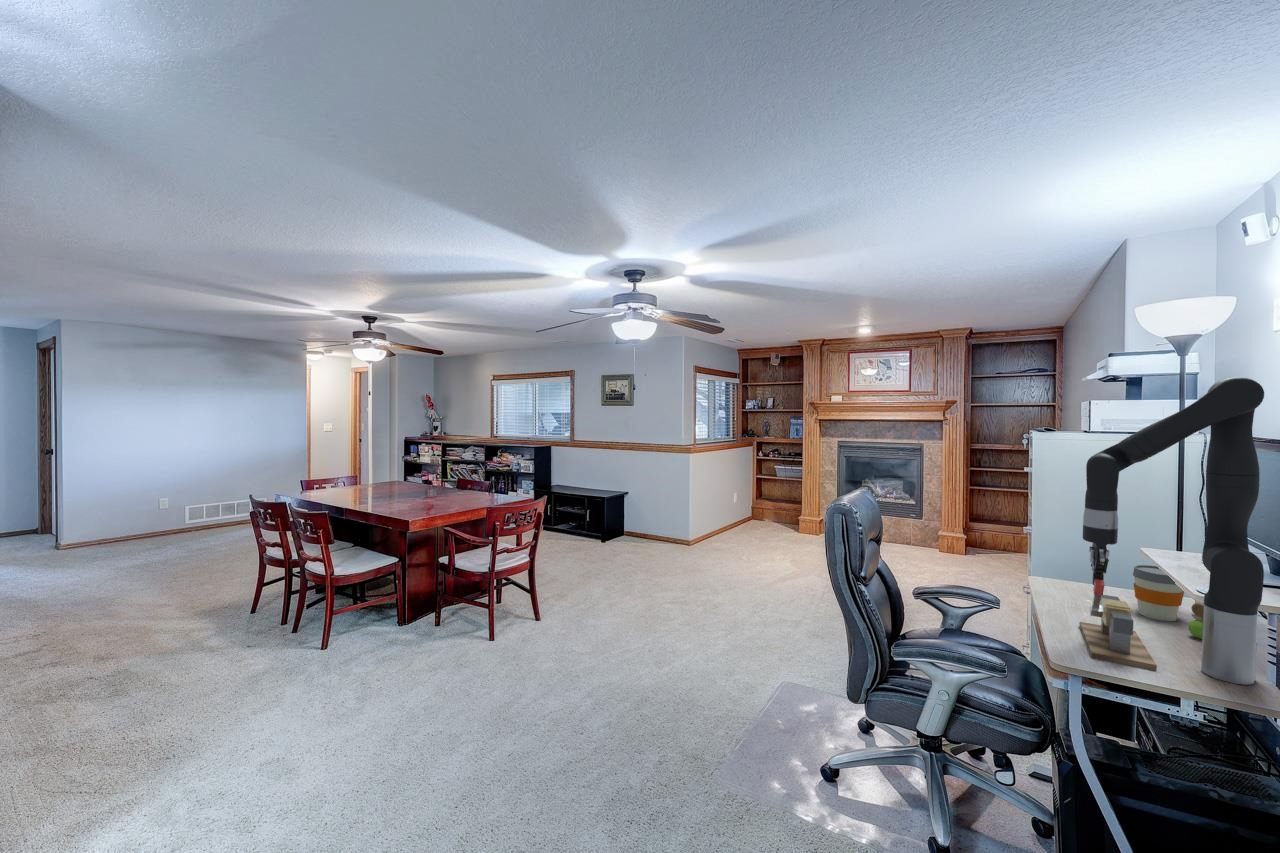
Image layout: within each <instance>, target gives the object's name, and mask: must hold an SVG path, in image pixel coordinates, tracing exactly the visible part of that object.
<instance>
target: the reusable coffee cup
mask: <svg viewBox="0 0 1280 853" xmlns="http://www.w3.org/2000/svg"><path fill="white" fill-rule="evenodd" d="M1158 567H1159V566H1158ZM1158 567H1157V565H1148V564H1146V565H1145V564H1139V565H1135V566H1133V573H1132V576H1133V578H1134V582H1133V590H1134V597H1135V598H1136V600H1137V606H1138V607H1137V609H1138V613H1139V614H1140V615H1141V616H1143V617H1146V618H1148V619H1153V620H1158V621H1164V622H1165V621H1166V622H1175V621H1176V620H1177V617H1178V613H1179V608H1180V606H1182V603H1183V598H1184V594H1185V591H1184V589H1183V590H1182V589H1181V588H1179V587H1178V586H1177V585H1176V584H1175V582H1174V581H1173V580H1172V579H1171V578H1170V577H1169V576H1168V575H1167V574H1165V573H1164V572H1163V571H1162V570H1161V569H1159V568H1158Z"/></svg>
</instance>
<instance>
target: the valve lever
mask: <svg viewBox="0 0 1280 853" xmlns="http://www.w3.org/2000/svg"><path fill="white" fill-rule="evenodd" d="M1104 590H1105V580H1098V579H1095V581H1094V585H1093V589H1092V591H1093V596H1092V601H1091V602H1092V603H1090V605H1089V614H1090V616H1091V617H1096V618H1097V617H1099V618H1101V617H1103V606H1102V605H1100V600H1101V595H1102V596H1103V595H1104Z"/></svg>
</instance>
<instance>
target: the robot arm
mask: <svg viewBox="0 0 1280 853" xmlns="http://www.w3.org/2000/svg"><path fill="white" fill-rule="evenodd" d="M1264 398H1265V390H1264V388H1263V386H1262V385H1261V383H1259V382H1257V380H1254V379H1251V378H1249V377H1244V376H1233V377H1232V376H1231V377H1228V378H1223V379H1221V380H1218V381H1217V382H1215V383H1213V385H1211V386H1210V387H1209V389H1208V390H1207V393H1206V394H1204V395H1202V397H1200V398H1199V399H1198V400H1196V401H1195V402H1193V403H1191V404H1190V405H1188V406H1186V407H1185V408H1183V409H1180V410H1179V411H1178V412H1175V413H1174V414H1172V415H1169V416H1167V417H1165V418H1162V419H1160V420H1158V421H1156V422H1154V423H1151V424H1150V425H1148V426H1146V427H1144V428H1141V429H1140V430H1137V431H1136V432H1134V433H1133V434H1131V435H1129V436H1127V437H1125V438H1123V439H1122V440H1121V441H1119V442H1117V443H1116V444H1114V445H1111V446H1109V447H1108V448H1105V449H1103V450H1101V451H1099V452H1097V453H1094V454H1093V455H1092V456H1090V457H1089V458H1088V459H1087V462H1086V467H1085V471H1086V473H1085V474H1086V475H1085V476H1086V491H1085V496H1084V498H1085V499H1084V511H1083V517H1082V518H1083V520H1082V540H1083V541H1085V542H1088V543H1091V544H1092V545H1089V547H1088V548H1089V550H1088V552H1089V553H1090V555H1089V562H1090V567H1091V571H1092V585H1093V586H1094V581H1095V579H1098V580H1104V578H1105V576H1104V575H1106V573H1107V569H1108V565H1109V561H1110V560H1109V557H1110V550H1109V548H1108V547H1107V546H1108V545H1111V546H1112V545H1116V544H1117V543H1118V532H1119V516H1118V515H1119V514H1118V505H1119V495H1118V486H1119V478H1120V472H1121V471H1123V470H1125V469H1127V468H1128V467H1130V466H1132V465H1134V464H1136V463H1141V462H1143V461H1146V460H1148V459H1150V458H1151V457H1154V456H1156V455H1157V454H1160V453H1161V452H1163V451H1165V450H1167V449H1168V448H1171V447H1172V446H1173V445H1175V444H1177V443H1179V442H1181V441H1183V440H1184V439H1186V438H1188V437H1190V436H1192V435H1193V434H1196V433H1198V432H1199V431H1202V430H1204V429H1206V428H1208V427H1209V428H1210V436H1209V443H1208V448H1207V455H1206V466H1205V467H1206V469H1205V502H1206V504H1205V505H1206V506H1205V508H1206V518H1207V519H1206V531H1205V538H1204V544H1203V548H1202V555H1201V560H1202V563H1203V565H1204V567H1205V569H1206V570H1207V571H1208V572H1209V583H1208V584H1209V585H1208V590H1207V592H1205V594H1204V596H1203V604H1204V615H1203V616H1204V617H1203V639H1201V640H1202V641H1201V642H1202V644H1201V658H1200V659H1201V660H1200V661H1201V664H1200V669H1201V670H1200V671H1201V672H1202V673H1204V674H1205V675H1207V676H1210V677H1212V678H1214V679H1217V680H1221V681H1223V682H1227V683H1232V684H1237V685H1245V686H1246V685H1253V684H1255V680H1256V679H1257V678H1256V677H1257V676H1256V674H1257V657H1258V656H1257V653H1258V642H1257V632H1258V631H1257V630H1258V610H1259V607H1260V605H1261V603H1262V600H1263V592H1264V582H1265V580H1264V578H1265V571H1264V564H1263V563H1262V562H1263V561H1262V560H1261V559H1260V558H1259V557H1258V556H1257V555H1256V554H1254V553H1253V552H1251V551H1250V548H1249V547H1250V546H1249V539H1248V526H1249V521H1250V518H1251V516H1252V513H1253V512H1254V510H1255V507H1256V504H1257V501H1258V499H1259V495H1260V465H1259V459H1258V452H1257V449H1256V446H1255V442H1254V437H1253V423H1254V418H1255V417H1254V416H1255V410H1256V409H1257V408H1258V407H1259V406H1260V405H1261V404H1262V403H1263V401H1264ZM1104 581H1105V580H1104Z"/></svg>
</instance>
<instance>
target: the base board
mask: <svg viewBox="0 0 1280 853" xmlns="http://www.w3.org/2000/svg"><path fill="white" fill-rule="evenodd" d="M1078 626H1079V630H1080V631H1081V634H1082V638H1083V639H1084V642H1085V644H1086V647H1087V650H1088V652H1089V654H1090V657H1091V659H1094V660H1099V661H1104V662H1110V663H1114V664H1119V665H1124V666H1131V667H1136V668H1140V669H1146V670H1148V671H1149V670H1151V671H1155V672H1157V667H1158V665H1157V663H1156V662H1155V660H1154V659H1153V657H1152V656H1151V654H1150V653H1149V651H1148V649H1147V647H1146V646H1145V644H1144V643H1143V641H1142V639H1141V638H1140V636H1139V634H1138V633H1137V632H1136V630H1133V635H1131V643H1130V654H1126V653H1120V652H1115V651H1111V650H1110V648H1109V634H1104V633H1102V632H1101V624H1094V623H1089V622H1084V621H1079V625H1078Z"/></svg>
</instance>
